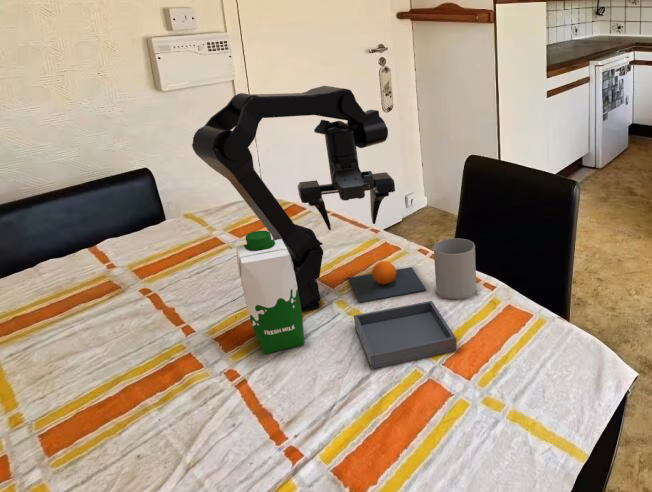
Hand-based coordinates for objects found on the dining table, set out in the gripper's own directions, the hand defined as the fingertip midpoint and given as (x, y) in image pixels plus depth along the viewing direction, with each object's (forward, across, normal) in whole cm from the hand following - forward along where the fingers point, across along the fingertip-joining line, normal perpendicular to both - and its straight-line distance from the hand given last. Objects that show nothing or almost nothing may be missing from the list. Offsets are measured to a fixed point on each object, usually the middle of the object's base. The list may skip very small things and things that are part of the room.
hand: (352, 226), depth 131 cm
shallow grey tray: (+12, +3, -29) cm, 32 cm away
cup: (+12, +18, -14) cm, 26 cm away
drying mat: (+12, +5, -6) cm, 14 cm away
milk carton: (+12, -18, -21) cm, 30 cm away
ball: (+9, +5, -6) cm, 12 cm away
